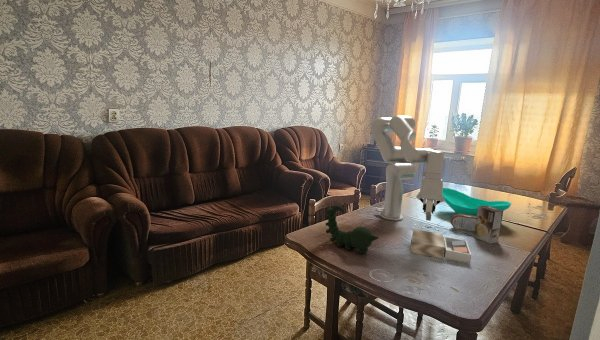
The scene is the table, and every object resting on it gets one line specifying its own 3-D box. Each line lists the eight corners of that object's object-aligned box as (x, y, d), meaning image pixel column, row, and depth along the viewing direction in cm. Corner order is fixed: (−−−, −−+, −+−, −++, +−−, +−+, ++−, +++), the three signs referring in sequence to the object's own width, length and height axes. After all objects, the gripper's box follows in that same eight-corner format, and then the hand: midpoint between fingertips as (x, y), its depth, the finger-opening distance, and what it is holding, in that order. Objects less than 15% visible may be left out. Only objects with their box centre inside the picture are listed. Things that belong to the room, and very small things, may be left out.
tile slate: (465, 244, 136) (466, 250, 136) (463, 240, 140) (464, 245, 140) (452, 245, 138) (453, 250, 138) (451, 241, 142) (452, 246, 142)
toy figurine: (321, 246, 140) (372, 261, 124) (321, 205, 138) (373, 215, 122) (333, 240, 148) (383, 253, 132) (333, 201, 145) (383, 209, 129)
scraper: (424, 219, 148) (427, 202, 147) (424, 211, 163) (426, 196, 162) (431, 221, 147) (433, 203, 146) (430, 212, 162) (432, 196, 161)
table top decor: (426, 211, 193) (428, 191, 191) (446, 204, 211) (449, 185, 208) (497, 232, 164) (502, 208, 161) (514, 222, 181) (518, 200, 179)
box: (444, 258, 131) (445, 250, 130) (442, 244, 146) (443, 236, 145) (470, 263, 128) (471, 254, 127) (465, 248, 142) (466, 240, 142)
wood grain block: (410, 252, 136) (412, 241, 135) (411, 238, 150) (413, 229, 149) (443, 258, 131) (445, 247, 130) (441, 244, 146) (442, 234, 145)
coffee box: (498, 242, 151) (504, 210, 148) (489, 244, 149) (495, 211, 146) (481, 235, 160) (486, 205, 156) (472, 236, 157) (477, 206, 154)
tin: (480, 231, 164) (483, 216, 163) (481, 233, 161) (484, 218, 160) (449, 227, 169) (451, 212, 167) (449, 229, 166) (452, 213, 164)
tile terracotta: (467, 251, 129) (468, 257, 129) (466, 247, 134) (466, 252, 134) (454, 251, 131) (455, 257, 131) (453, 247, 136) (453, 252, 136)
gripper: (415, 175, 151) (410, 211, 154) (452, 179, 145) (447, 217, 149) (415, 172, 158) (411, 207, 161) (450, 176, 152) (445, 212, 155)
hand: (428, 211), depth 155 cm, fingers closed on scraper, 3 cm apart
